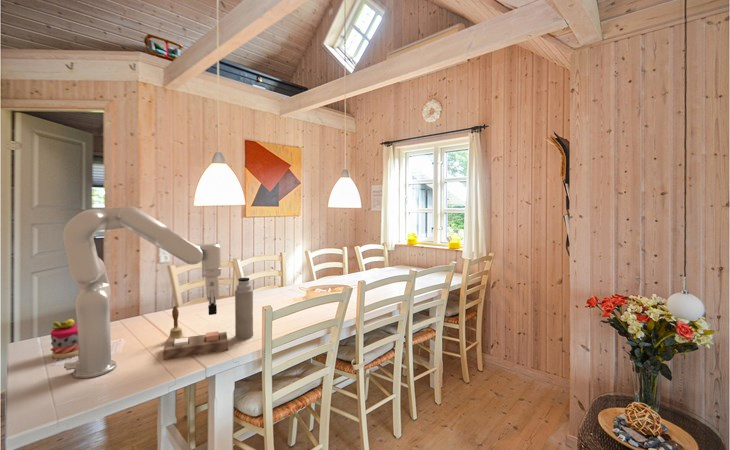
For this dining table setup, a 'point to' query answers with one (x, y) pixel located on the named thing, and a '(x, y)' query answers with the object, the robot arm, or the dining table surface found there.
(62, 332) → the cake
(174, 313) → the hand bell
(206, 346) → the block
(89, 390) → the dining table surface
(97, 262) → the robot arm
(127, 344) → the dining table surface
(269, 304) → the dining table surface
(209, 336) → the terracotta key
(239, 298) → the thermos bottle
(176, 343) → the white key
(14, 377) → the dining table surface
